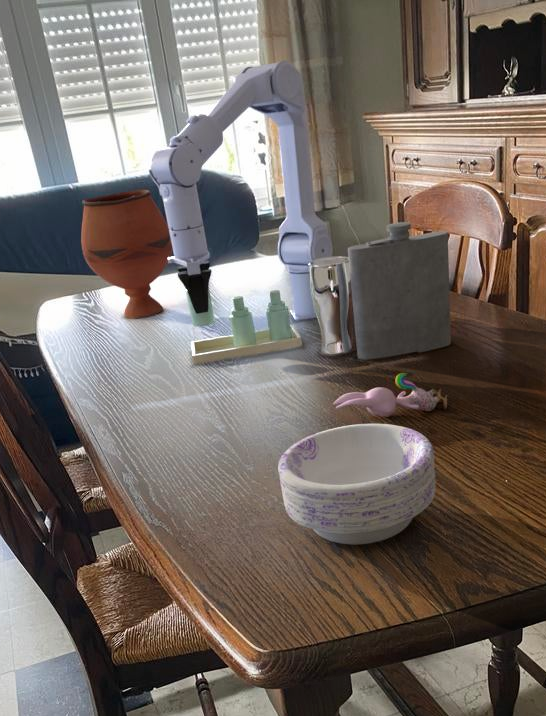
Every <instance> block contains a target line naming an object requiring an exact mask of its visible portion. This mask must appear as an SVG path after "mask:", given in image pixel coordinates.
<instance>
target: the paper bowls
mask: <svg viewBox="0 0 546 716" xmlns="http://www.w3.org/2000/svg"><path fill="white" fill-rule="evenodd" d="M277 472H278V475H279V482H280V488H281V494H282V499H283V504H284V507H285V511H286V513H287V515H288V517H290V519H291V520H293V521H294V522H295V523H297V525H299V526H303V527H305V528H307V529H310V530H313V532H315V533H316V534H317V535H318V536H320V537H322V538H323V539H325V540H328V541H329V542H333V543H336V544H343V545H355V546H356V545H367V544H374V543H378V542H382V541H385V540H388V539H390V538H392V537H394V536H396V535H398V534H399V533H401V532H403V531H404V530H405V529H406V528H407V527H408V526H409V525H410V524H411V522H412V521H413V519H414V517H415V518H416V516H418V515H420V514H421V513H422V512H424V510H426V509H427V508H428V507H429V506H430V504H431V503H432V501H433V500H434V498H435V495H436V470H435V452H434V447H433V445H432V443H431V441H430V440H429V439H428V438H427V437H426V436H425V435H423V434H422V433H420V432H419V431H416V430H415V429H413V428H409V427H405V426H401V425H394V424H388V423H357V424H350V425H343V426H338V427H334V428H330V429H326V430H323V431H319V432H317V433H314V434H311V435H309V436H306V437H304V438H302V439H300V440H299V441H297V442H295V443H294V444H292V445H291V446H290V447H289V448H287V449H286V451H284V453H283V454H282V455H281V457H280V459H279V460H278V466H277Z"/></svg>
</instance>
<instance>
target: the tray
mask: <svg viewBox="0 0 546 716" xmlns="http://www.w3.org/2000/svg"><path fill="white" fill-rule="evenodd" d="M290 325H291V332H292V338H291V339H285V340H279V341H273V342H270V336H269V329H268V328H264V329H259V330H255V337H256V343H257V344H255V345H249V346H243V347H237V348H235V347H234V341H233V335H232V334H229V335H228V334H227V335H223V336H217V337H216V336H215V337H210V338H203V339H199V340H198V339H197V340H194V341H190V348H191V358H192V362H193V365H198V364H205V363H211V362H217V361H223V360H229V359H235V358H241V357H247V356H253V355H259V354H260V355H261V354H265V353H271V352H278V351H282V350H288V349H293V348H294V349H296V348H300V347H303V340H302V337H301V335H300V333H299V331H298V330H297V328H296V326H295V324H290Z"/></svg>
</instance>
